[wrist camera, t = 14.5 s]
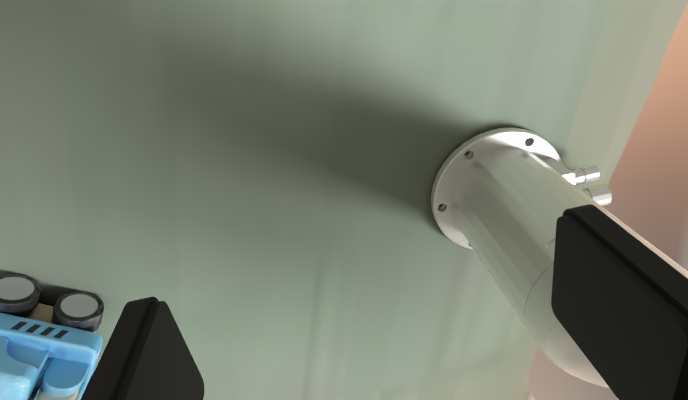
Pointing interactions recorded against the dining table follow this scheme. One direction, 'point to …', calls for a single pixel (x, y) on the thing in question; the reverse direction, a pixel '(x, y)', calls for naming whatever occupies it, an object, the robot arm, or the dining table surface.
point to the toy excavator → (46, 341)
